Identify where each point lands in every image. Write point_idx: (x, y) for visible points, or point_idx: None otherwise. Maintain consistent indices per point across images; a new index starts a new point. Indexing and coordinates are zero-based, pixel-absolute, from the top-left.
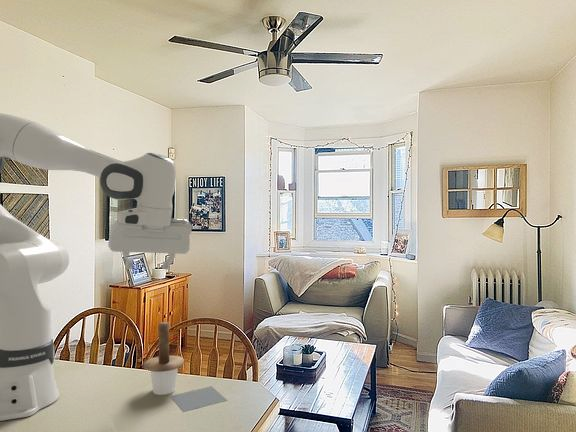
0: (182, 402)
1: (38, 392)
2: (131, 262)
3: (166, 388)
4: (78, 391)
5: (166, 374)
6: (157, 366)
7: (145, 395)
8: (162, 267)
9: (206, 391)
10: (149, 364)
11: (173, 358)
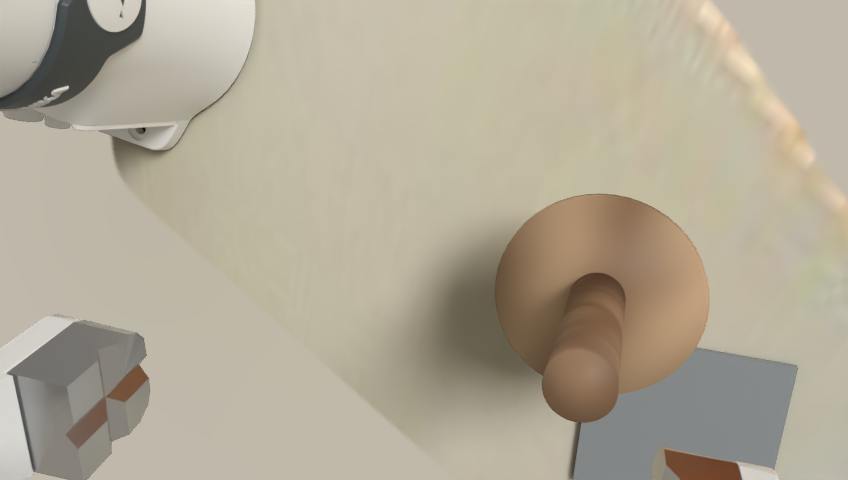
0: (606, 416)
1: (151, 117)
2: (60, 472)
3: None
4: (321, 19)
5: None
6: (543, 333)
7: None
8: (658, 456)
9: (743, 398)
10: (523, 281)
11: (664, 282)
